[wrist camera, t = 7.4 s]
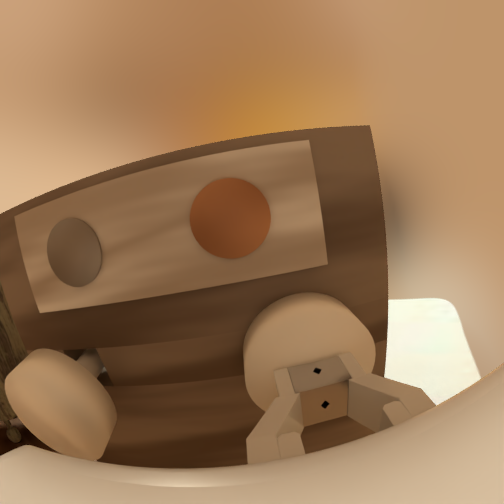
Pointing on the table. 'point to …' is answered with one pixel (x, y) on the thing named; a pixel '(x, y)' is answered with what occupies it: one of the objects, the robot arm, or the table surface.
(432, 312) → the table surface
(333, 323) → the button
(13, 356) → the tabletop clock
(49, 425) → the button
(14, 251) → the button panel
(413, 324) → the table surface
